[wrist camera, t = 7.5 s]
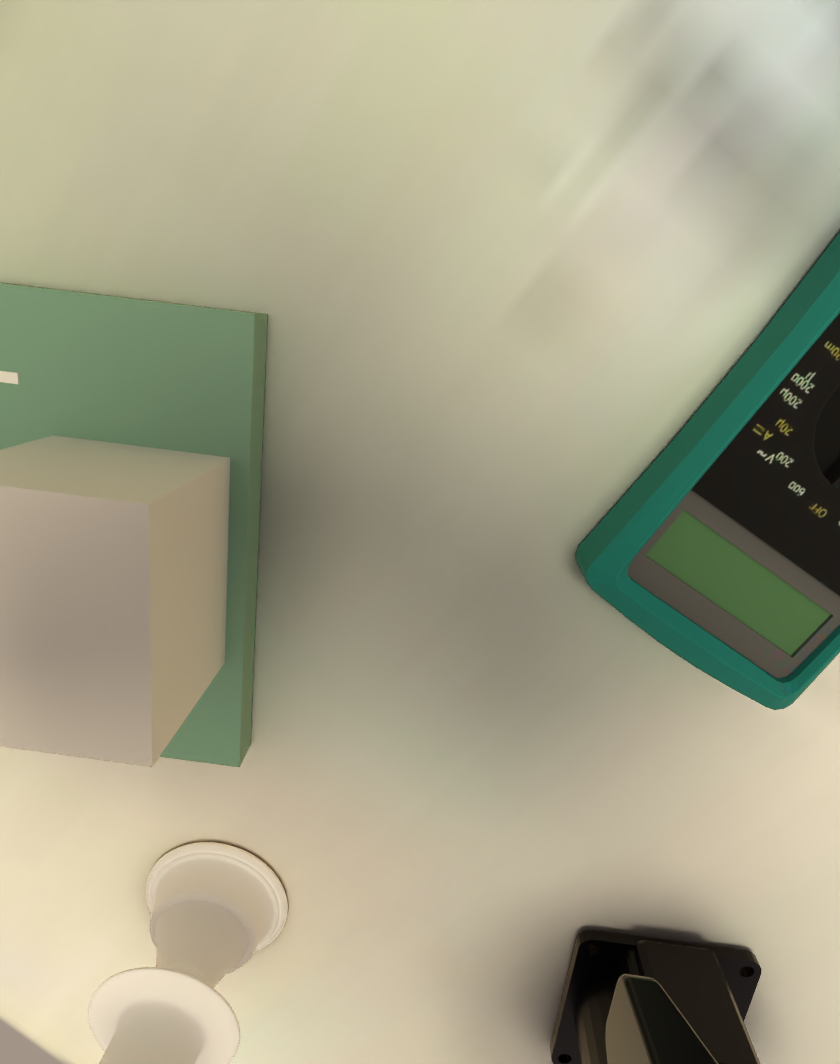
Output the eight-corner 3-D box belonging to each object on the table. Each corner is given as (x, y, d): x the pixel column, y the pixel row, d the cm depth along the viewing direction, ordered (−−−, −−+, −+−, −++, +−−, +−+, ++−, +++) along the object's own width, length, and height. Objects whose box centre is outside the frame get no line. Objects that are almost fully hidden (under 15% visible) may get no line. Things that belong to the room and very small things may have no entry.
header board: (250, 744, 22) (238, 768, 21) (-122, 695, 23) (-154, 715, 22) (267, 314, 18) (254, 313, 17) (-191, 259, 18) (-236, 255, 17)
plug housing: (224, 662, 20) (152, 767, 15) (64, 641, 20) (-57, 738, 16) (230, 457, 18) (148, 504, 13) (52, 435, 18) (-91, 474, 14)
